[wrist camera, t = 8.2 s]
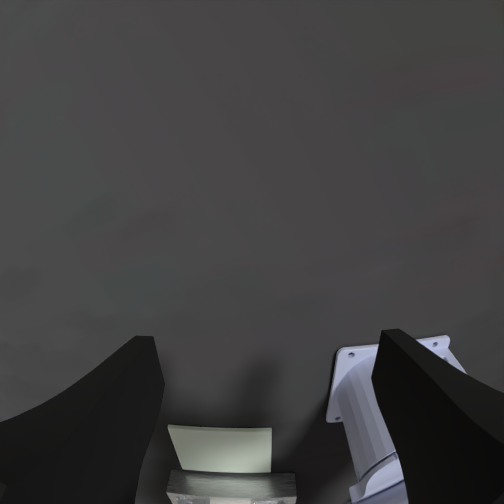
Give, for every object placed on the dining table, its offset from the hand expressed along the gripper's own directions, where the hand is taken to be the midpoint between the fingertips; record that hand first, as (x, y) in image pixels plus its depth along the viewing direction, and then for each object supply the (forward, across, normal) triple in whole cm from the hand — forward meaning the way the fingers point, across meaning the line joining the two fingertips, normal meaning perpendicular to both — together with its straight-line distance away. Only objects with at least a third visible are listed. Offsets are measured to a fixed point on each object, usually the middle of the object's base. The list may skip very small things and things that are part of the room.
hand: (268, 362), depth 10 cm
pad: (+10, +4, +20) cm, 22 cm away
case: (+10, +3, +30) cm, 31 cm away
